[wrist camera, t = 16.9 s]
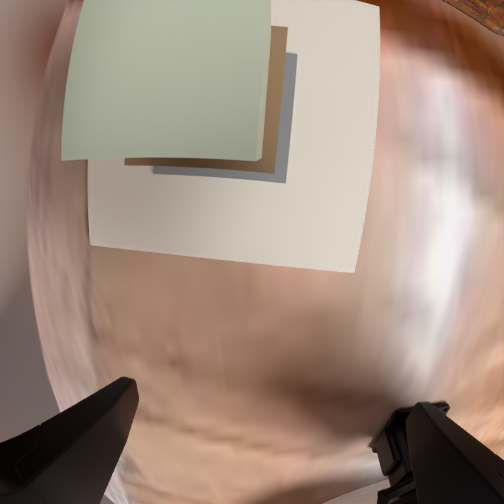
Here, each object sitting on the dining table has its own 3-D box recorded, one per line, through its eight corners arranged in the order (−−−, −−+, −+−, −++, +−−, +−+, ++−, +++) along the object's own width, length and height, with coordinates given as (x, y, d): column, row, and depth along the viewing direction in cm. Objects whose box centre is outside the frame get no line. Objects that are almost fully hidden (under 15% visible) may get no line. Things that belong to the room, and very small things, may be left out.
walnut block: (282, 64, 13) (287, 27, 8) (273, 167, 15) (274, 173, 10) (177, 61, 13) (140, 29, 8) (167, 160, 15) (124, 165, 10)
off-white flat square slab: (373, 13, 12) (380, 5, 11) (349, 266, 17) (354, 274, 16) (117, 6, 13) (109, 0, 11) (97, 240, 18) (88, 246, 17)
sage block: (270, 37, 8) (270, -31, 4) (261, 157, 10) (255, 161, 5) (148, 40, 8) (85, -7, 4) (137, 154, 10) (60, 160, 6)
